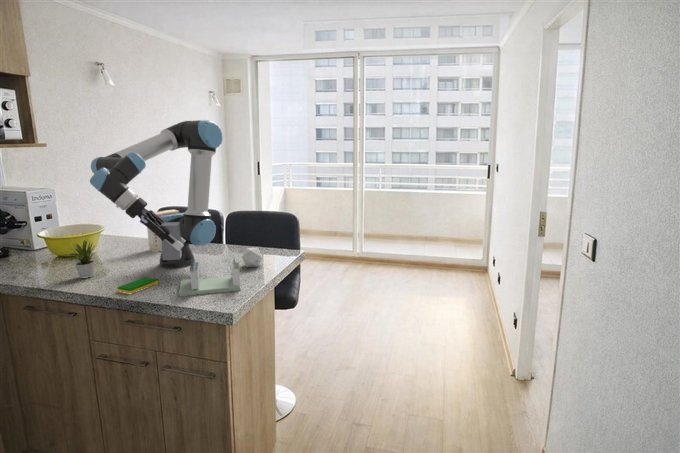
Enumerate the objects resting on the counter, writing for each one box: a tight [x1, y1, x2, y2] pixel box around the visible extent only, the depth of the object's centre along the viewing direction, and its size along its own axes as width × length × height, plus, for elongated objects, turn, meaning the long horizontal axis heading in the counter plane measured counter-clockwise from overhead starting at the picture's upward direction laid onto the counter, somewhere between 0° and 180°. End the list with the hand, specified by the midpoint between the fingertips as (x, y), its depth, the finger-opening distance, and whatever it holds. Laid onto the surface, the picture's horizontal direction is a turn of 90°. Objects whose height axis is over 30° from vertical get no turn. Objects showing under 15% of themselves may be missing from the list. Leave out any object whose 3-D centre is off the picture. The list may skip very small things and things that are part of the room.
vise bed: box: [178, 253, 241, 297], centre depth 171 cm, size 14×22×11 cm, turn 105°
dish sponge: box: [116, 276, 159, 293], centre depth 172 cm, size 7×14×2 cm, turn 155°
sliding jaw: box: [189, 258, 201, 290], centre depth 169 cm, size 13×2×8 cm, turn 15°
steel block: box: [161, 222, 182, 260], centre depth 166 cm, size 6×6×13 cm
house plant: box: [65, 238, 98, 278], centre depth 185 cm, size 14×14×16 cm
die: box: [241, 247, 263, 268], centre depth 198 cm, size 8×9×10 cm
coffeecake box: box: [146, 209, 180, 253], centre depth 229 cm, size 15×7×20 cm, turn 133°
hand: (182, 245), depth 167 cm, fingers closed on steel block, 6 cm apart
